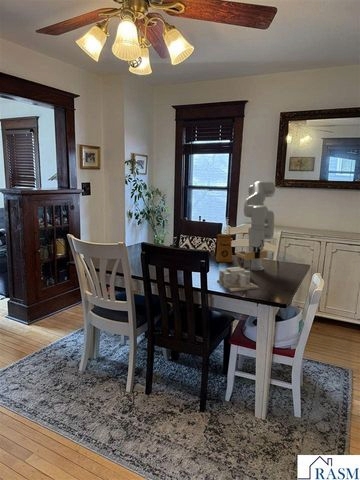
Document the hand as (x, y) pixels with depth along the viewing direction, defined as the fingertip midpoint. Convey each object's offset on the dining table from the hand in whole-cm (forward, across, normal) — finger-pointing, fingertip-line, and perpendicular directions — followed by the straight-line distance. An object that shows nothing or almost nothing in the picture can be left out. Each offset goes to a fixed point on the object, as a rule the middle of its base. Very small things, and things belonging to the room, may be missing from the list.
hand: (256, 257), depth 197 cm
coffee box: (+18, -20, +4) cm, 27 cm away
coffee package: (+17, -60, +12) cm, 63 cm away
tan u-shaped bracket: (+1, -5, 0) cm, 5 cm away
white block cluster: (+18, -6, -9) cm, 21 cm away
